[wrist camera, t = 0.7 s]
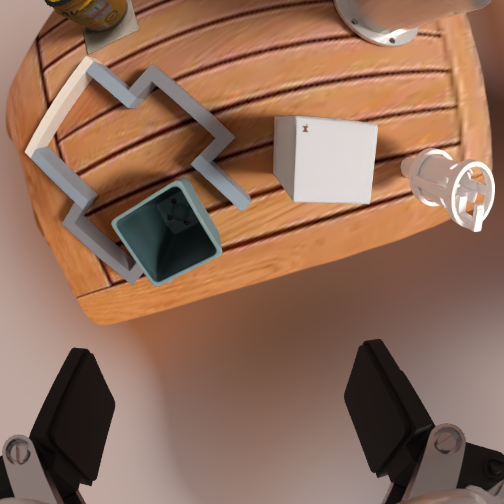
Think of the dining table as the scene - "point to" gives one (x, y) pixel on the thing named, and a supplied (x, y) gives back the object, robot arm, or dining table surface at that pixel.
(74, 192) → the stepped grey frame
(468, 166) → the white plastic fitting
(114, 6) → the condiment
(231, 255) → the dining table surface
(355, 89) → the dining table surface
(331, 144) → the supplement box
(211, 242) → the flower pot
